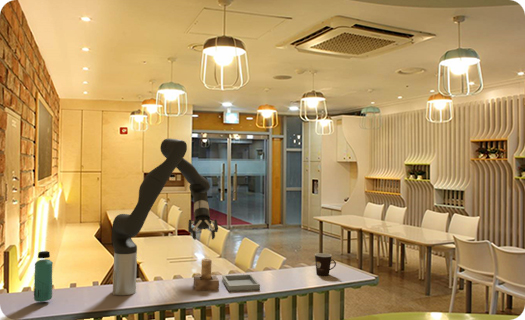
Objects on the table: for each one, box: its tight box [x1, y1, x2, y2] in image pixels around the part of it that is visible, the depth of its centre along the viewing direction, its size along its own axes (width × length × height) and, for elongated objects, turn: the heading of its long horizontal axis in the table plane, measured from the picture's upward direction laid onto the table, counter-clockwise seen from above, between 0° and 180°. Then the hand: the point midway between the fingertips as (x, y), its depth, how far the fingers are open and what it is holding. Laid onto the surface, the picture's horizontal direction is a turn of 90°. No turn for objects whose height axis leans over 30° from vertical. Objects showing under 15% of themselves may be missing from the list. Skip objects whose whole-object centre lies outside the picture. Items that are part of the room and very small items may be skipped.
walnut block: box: [193, 274, 220, 292], centre depth 193 cm, size 10×10×4 cm
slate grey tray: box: [221, 273, 261, 293], centre depth 198 cm, size 14×17×2 cm
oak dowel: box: [200, 258, 212, 280], centre depth 193 cm, size 4×4×12 cm
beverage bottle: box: [33, 250, 54, 302], centre depth 167 cm, size 6×7×20 cm
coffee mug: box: [314, 252, 337, 277], centre depth 219 cm, size 12×9×10 cm
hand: (204, 238), depth 203 cm, fingers open, 8 cm apart
